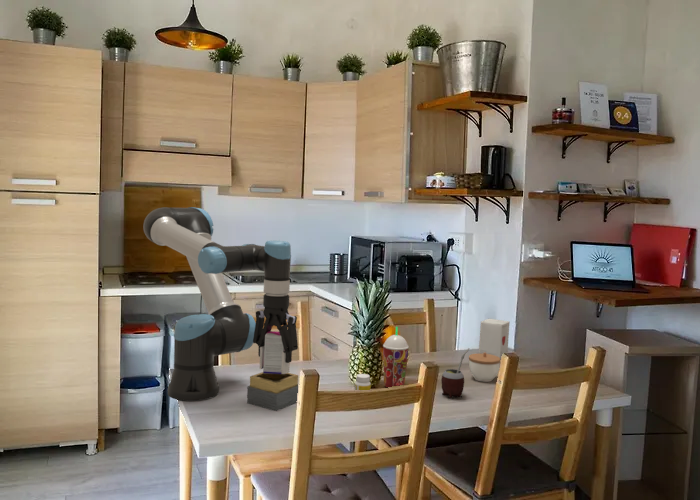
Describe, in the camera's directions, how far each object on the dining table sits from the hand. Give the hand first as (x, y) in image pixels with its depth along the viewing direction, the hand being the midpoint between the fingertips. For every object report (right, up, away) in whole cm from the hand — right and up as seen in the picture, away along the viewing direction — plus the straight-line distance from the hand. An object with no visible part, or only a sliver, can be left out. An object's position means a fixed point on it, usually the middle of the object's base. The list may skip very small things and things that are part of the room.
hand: (274, 370), depth 186 cm
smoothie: (+37, -9, +20) cm, 43 cm away
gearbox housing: (0, -10, +1) cm, 10 cm away
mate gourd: (+55, -11, +13) cm, 57 cm away
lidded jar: (+69, -9, +33) cm, 77 cm away
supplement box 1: (0, 0, 0) cm, 0 cm away
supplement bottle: (+26, -11, +3) cm, 28 cm away
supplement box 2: (+78, -7, +61) cm, 100 cm away
